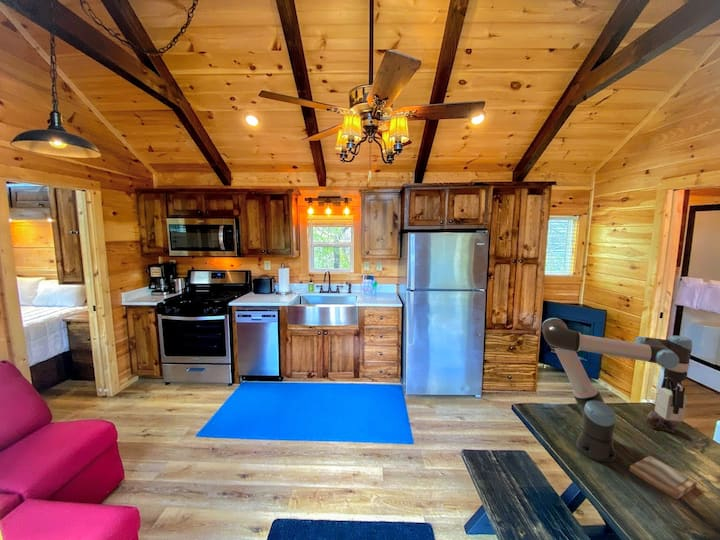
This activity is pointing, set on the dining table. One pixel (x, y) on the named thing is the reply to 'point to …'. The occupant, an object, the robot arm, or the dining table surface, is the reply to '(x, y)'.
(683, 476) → the plinth
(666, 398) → the supplement box
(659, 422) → the rock
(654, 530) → the dining table surface
